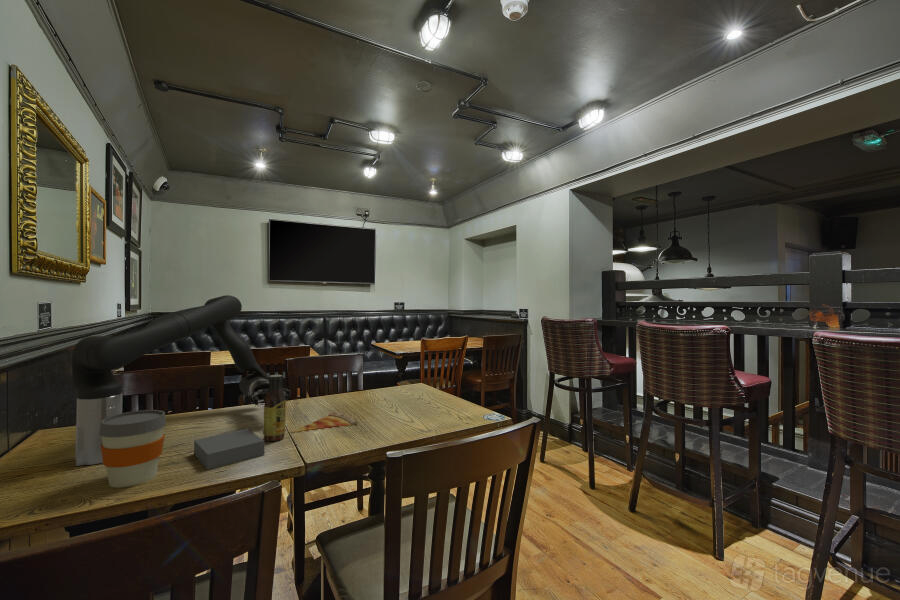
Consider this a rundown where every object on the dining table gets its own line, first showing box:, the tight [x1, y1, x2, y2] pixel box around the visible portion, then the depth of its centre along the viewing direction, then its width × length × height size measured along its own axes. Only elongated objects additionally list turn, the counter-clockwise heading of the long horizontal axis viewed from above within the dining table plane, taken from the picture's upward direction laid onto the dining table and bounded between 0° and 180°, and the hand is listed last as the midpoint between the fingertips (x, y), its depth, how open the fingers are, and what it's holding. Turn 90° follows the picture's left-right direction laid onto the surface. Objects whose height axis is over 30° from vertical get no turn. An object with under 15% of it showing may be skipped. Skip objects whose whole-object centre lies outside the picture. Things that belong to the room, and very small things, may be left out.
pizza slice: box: [290, 411, 359, 434], centre depth 138 cm, size 16×22×2 cm
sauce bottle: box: [263, 374, 287, 442], centre depth 121 cm, size 7×6×20 cm
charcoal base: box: [193, 428, 265, 471], centre depth 109 cm, size 14×14×4 cm
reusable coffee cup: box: [99, 409, 167, 488], centre depth 94 cm, size 13×13×15 cm
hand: (271, 400), depth 126 cm, fingers open, 8 cm apart
